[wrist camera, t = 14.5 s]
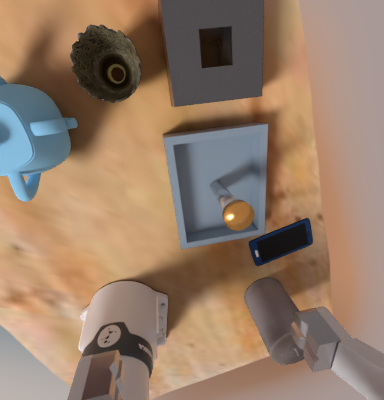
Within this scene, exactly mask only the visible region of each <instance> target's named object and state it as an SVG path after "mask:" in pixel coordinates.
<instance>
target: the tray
mask: <svg viewBox="0 0 384 400" xmlns="http://www.w3.org/2000/svg"><path fill="white" fill-rule="evenodd" d="M163 139H164V145H165V151H166V157H167V164H168V170H169V176H170V183H171V189H172V195H173V202H174V208H175V214H176V221H177V227H178V233H179V239H180V245H181V249H187V248H192V247H198V246H203V245H208V244H214V243H219V242H225V241H230V240H236V239H241V238H247V237H252V236H257V235H263V234H265V204H266V174H267V144H268V124H266V123H260V122H253V123H246V124H238V125H231V126H223V127H216V128H208V129H201V130H193V131H185V132H178V133H170V134H163ZM215 180H219V181H221V182H222V183H223V185H224V186H225V187H226V188H227V189H228V190H229V191H230V192H231V194H232V195H233V196H234V197H235V198H236V199H237V200H238V199H240V200H244V201H246V202H247V203H248V204H249V205H250V206H251V207H252V208H253V210H254V213H255V216H254V220H253V222H252V223H251V225H250V226H249V227H247V228H246V229H244V230H240V231H235V230H232V229H230V228H228V226H227V225H226V223H225V222H224V220H223V217H222V213H223V210H224V209H223V208H222V206H221V205H220V203H219V202H218V200H217V199H216V197H215V196H214V194H213V193H212V191H211V190H210V184H211V183H212V182H213V181H215Z"/></svg>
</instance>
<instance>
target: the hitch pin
mask: <svg viewBox="0 0 384 400" xmlns="http://www.w3.org/2000/svg"><path fill="white" fill-rule="evenodd" d="M210 190H211V191H212V193H213V194H214V196H215V197H216V199H217V200H218V202H219V203H220V205H221V206H222V208H223V209H224V210H223V213H222V217H223V220H224V222H225V223H226V225H227V226H228V228H230V229H232V230H235V231H240V230H244V229H246V228H247V227H249V226H250V225H251V223H252V222H253V220H254V216H255V213H254V210H253V208H252V207H251V206H250V205H249V204H248V203H247V202H246V201H244V200H240V199H238V200H237V199H236V198H235V197H234V196H233V195H232V194H231V192H230V191H229V190H228V189H227V188H226V187H225V186H224V185H223V183H222V182H221V181H219V180H215V181H213V182H212V183H211V184H210Z"/></svg>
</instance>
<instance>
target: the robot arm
mask: <svg viewBox="0 0 384 400" xmlns="http://www.w3.org/2000/svg"><path fill="white" fill-rule="evenodd" d="M167 311H168V296H167V295H166V294H163V293H160V292H156V291H154V290H152V289H151V288H150V287H148V286H146V285H144V284H142V283H139V282H134V281H120V282H115V283H111V284H109V285H106V286H104V287H103V288H101V289H100V290H99V291H98V292H97V293H96V294H95V295H94V297H93V298H92V301H91V303H90V304H89V306H87V307H86V308H85V309H84V310H83V311H82V312H81V316H80V317H81V319H82V321H83V322H84V325H83V329H82V333H81V338H80V342H79V350H80V351H81V353H82V357H81V359H80V361H79V362H78V366H77V369H76V372H75V376H74V379H73V383H72V386H71V389H70V393H69V396H68V399H67V400H149V379H150V377H151V374H152V369H153V362H154V361H155V360H156V359H157V347H158V346H160V345H165V341H166V329H167ZM292 319H293V320H294V322H293V323H292V324H291V334H292V337H293V339H294V341H295V343H296V345H297V346H298V347H299V348H301V349H302V350H303V351H304V353H303V357H304V358H305V360H306V362H307V363H308V365H309V367H310V368H311V370H312V371H313V372H316V371H321V370H326V369H331V370H332V371H333V372H335V373H336V374H337V375H338V376H340V377H341V378H342V379H343V380H345V381H346V382H347V383H348V384H349V385H351V386H352V387H353V388H354V389H355V390H357V391H358V392H359V393H360V394H362V395H363V396H364V397H365V398H367V399H368V400H384V354H383V353H381V352H380V351H378V350H376V349H374V348H373V347H371V346H369V345H367V344H366V343H364V342H362V341H360V340H358V339H357V338H354V339H353V338H352V337H351V336H350V335H349V334H348V332H347V331H346V330H345V329H344V328H343V326H341V324H340V323H339V322H338V321H337V320H336V318H335V317H334V316H333V315H332V314H331V313H330V311H329V310H328V309H327V308H326V307H318V308H312V309H307V310H303V311H299V312H294V313H293V314H292Z"/></svg>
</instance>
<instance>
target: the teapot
mask: <svg viewBox="0 0 384 400" xmlns="http://www.w3.org/2000/svg"><path fill="white" fill-rule="evenodd" d="M77 126H78V123H77V120H76V119H75V118H63V117H62V115H61V113H60V111H59V109H58V107H57V106H56V104H55V102H54V101H53V100H52V99H51V98H50V97H49V96H48V95H47V94H46V93H44V92H43V91H41V90H39V89H37V88H34V87H31V86H27V85H21V84H11V83H6V81H5V80H4V79H3V78H2V77H1V76H0V176H8V177H9V180H10V183H11V185H12V188H13V190H14V192H15V194H16V196H17V197H18V198H19V199H20V200H22V201H30V200H32V199H33V198H34V196H35V195H36V192H37V190H38V186H39V181H40V175H41V172H44V171H47V170H50V169H52V168H54V167H56V166H57V165H59V164H61V163H62V162H63V161H64V160H65V159H66V158H67V157H68V155H69V153H70V150H71V142H70V137H69V133H68V129H72V128H77ZM27 175H29V176H28V179H27V182H26V183H25V181H24V178H23V176H27Z"/></svg>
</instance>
